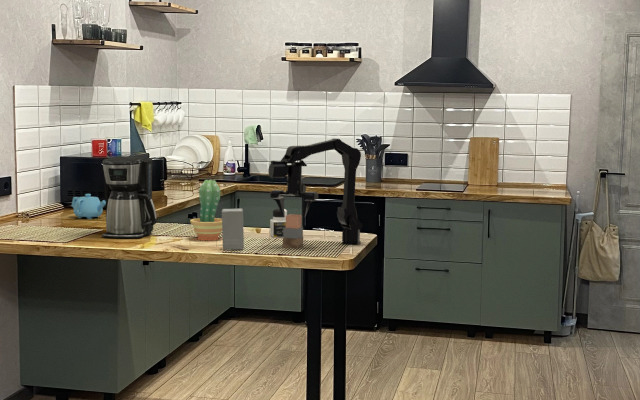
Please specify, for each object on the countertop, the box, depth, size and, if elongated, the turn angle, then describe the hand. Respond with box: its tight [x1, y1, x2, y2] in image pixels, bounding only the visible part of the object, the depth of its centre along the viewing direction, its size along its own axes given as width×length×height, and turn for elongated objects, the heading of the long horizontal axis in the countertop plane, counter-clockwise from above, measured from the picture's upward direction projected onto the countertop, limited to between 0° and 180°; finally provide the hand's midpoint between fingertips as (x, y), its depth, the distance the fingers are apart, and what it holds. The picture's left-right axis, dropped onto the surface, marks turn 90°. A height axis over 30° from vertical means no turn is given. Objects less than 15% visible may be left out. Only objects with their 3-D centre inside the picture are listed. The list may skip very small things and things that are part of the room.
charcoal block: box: [284, 226, 304, 239], centre depth 350 cm, size 6×6×4 cm
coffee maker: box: [101, 155, 158, 239], centre depth 375 cm, size 23×32×34 cm
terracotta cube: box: [286, 213, 303, 229], centre depth 349 cm, size 5×5×5 cm
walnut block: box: [282, 236, 304, 249], centre depth 350 cm, size 6×6×4 cm
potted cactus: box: [190, 179, 222, 241], centre depth 365 cm, size 15×15×25 cm
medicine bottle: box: [269, 208, 288, 239], centre depth 376 cm, size 7×7×12 cm
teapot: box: [71, 193, 106, 220], centre depth 426 cm, size 20×17×12 cm
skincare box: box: [221, 208, 245, 251], centre depth 342 cm, size 8×7×16 cm
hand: (293, 216), depth 349 cm, fingers open, 9 cm apart
